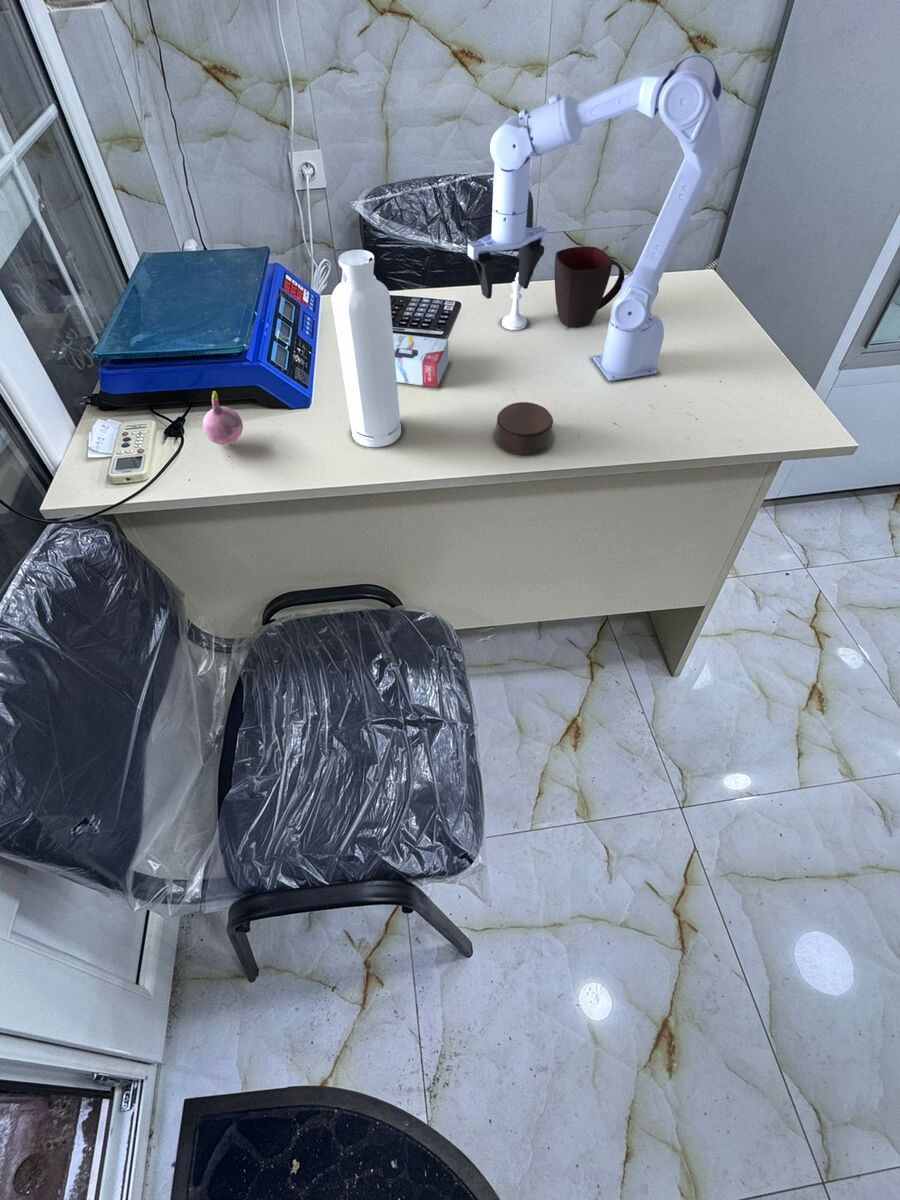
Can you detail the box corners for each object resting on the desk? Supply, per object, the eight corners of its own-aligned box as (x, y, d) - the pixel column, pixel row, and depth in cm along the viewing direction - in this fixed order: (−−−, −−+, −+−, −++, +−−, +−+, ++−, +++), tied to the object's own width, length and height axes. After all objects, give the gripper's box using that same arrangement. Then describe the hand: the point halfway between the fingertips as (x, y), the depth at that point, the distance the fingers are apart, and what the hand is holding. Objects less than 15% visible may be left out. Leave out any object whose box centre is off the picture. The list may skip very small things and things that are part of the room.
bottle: (406, 442, 105) (393, 266, 83) (357, 451, 104) (331, 275, 82) (394, 413, 110) (379, 240, 88) (348, 422, 109) (320, 248, 87)
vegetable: (234, 461, 103) (215, 407, 95) (202, 451, 104) (181, 398, 96) (255, 439, 106) (239, 385, 98) (225, 430, 108) (206, 376, 100)
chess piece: (530, 320, 129) (534, 269, 121) (521, 332, 126) (525, 280, 118) (507, 315, 130) (510, 264, 122) (498, 326, 128) (500, 275, 120)
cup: (542, 311, 131) (549, 250, 122) (605, 302, 133) (616, 241, 124) (560, 336, 125) (568, 273, 116) (625, 326, 127) (639, 264, 118)
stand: (539, 417, 109) (542, 397, 106) (558, 450, 104) (561, 429, 101) (489, 426, 108) (490, 405, 105) (505, 459, 102) (507, 439, 99)
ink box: (437, 364, 111) (372, 356, 112) (437, 389, 115) (374, 380, 116) (448, 338, 116) (386, 330, 118) (448, 362, 120) (388, 355, 121)
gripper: (534, 191, 109) (527, 272, 120) (459, 208, 105) (459, 290, 116) (557, 206, 105) (548, 289, 116) (480, 223, 101) (477, 308, 112)
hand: (505, 291), depth 115 cm, fingers open, 7 cm apart
